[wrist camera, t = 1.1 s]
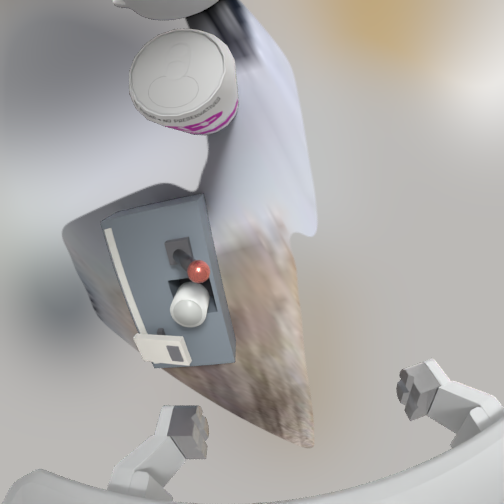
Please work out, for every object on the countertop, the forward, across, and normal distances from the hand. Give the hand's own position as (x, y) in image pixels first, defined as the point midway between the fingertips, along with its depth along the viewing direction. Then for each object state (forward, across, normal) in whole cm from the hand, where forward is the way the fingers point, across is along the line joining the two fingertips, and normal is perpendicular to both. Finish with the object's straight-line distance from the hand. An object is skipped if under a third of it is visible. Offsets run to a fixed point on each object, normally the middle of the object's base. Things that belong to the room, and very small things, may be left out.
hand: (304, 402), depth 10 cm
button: (+22, +10, +6) cm, 25 cm away
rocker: (+20, +15, +12) cm, 28 cm away
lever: (+21, +10, 0) cm, 23 cm away
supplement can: (+27, +5, -16) cm, 32 cm away
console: (+27, +12, +6) cm, 31 cm away
